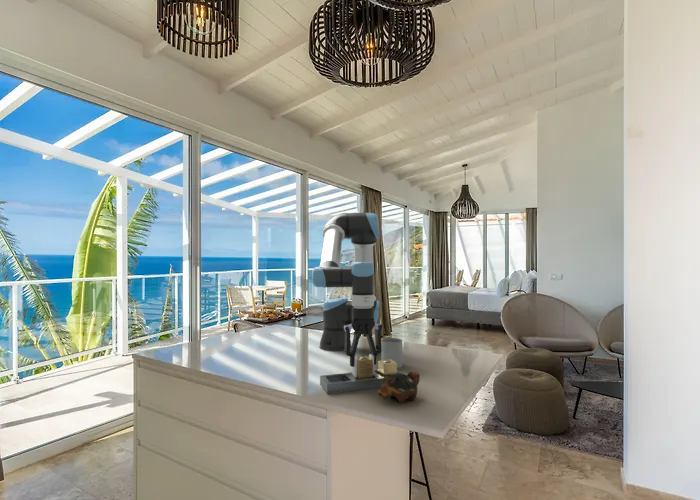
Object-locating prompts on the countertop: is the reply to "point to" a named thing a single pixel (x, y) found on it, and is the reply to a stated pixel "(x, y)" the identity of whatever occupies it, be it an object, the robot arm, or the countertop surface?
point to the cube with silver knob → (364, 368)
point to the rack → (350, 382)
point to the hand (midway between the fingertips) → (363, 374)
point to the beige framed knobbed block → (387, 368)
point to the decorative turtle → (400, 386)
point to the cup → (392, 350)
